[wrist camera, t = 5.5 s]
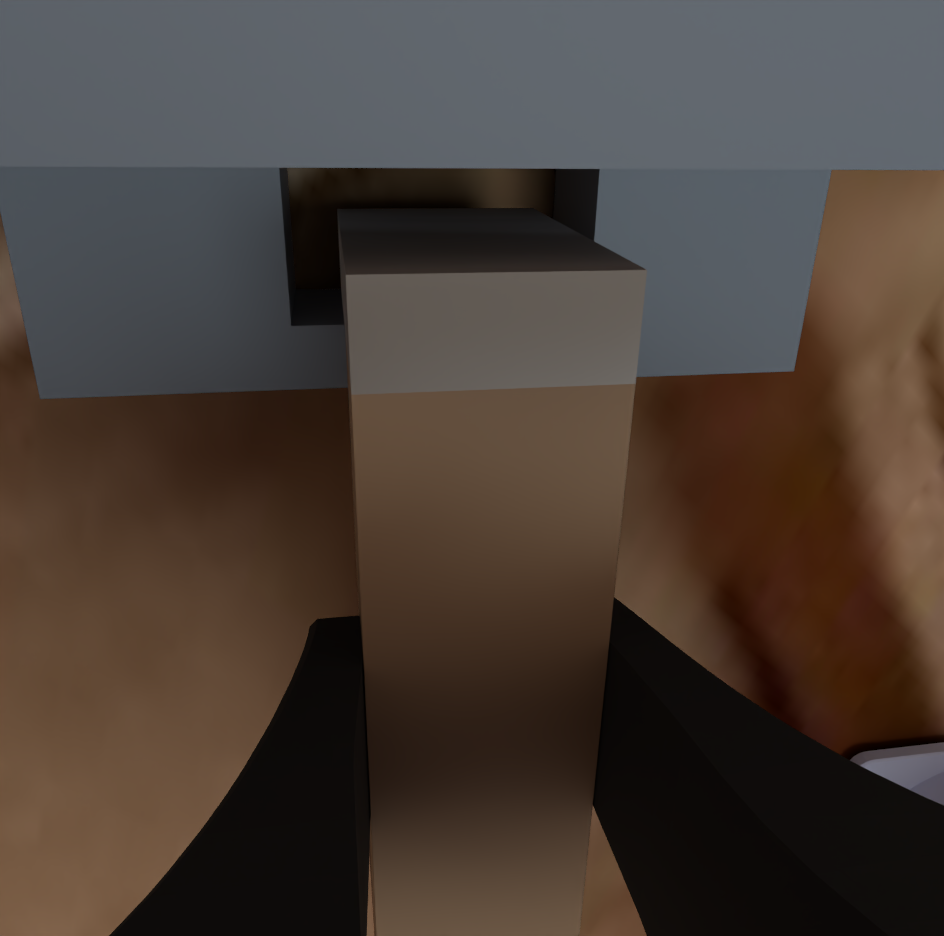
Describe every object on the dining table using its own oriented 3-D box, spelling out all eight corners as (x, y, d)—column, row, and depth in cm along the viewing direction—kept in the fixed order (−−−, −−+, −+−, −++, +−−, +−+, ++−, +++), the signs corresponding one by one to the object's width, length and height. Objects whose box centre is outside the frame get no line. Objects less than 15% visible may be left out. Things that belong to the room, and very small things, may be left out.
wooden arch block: (506, 796, 18) (569, 1034, 13) (366, 813, 17) (382, 1065, 13) (533, 207, 13) (646, 270, 8) (337, 208, 12) (346, 275, 8)
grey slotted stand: (912, 326, 17) (1261, 468, 11) (-170, 357, 14) (-580, 582, 8) (1025, -137, 14) (1622, -327, 7) (-357, -231, 11) (-1354, -699, 4)
